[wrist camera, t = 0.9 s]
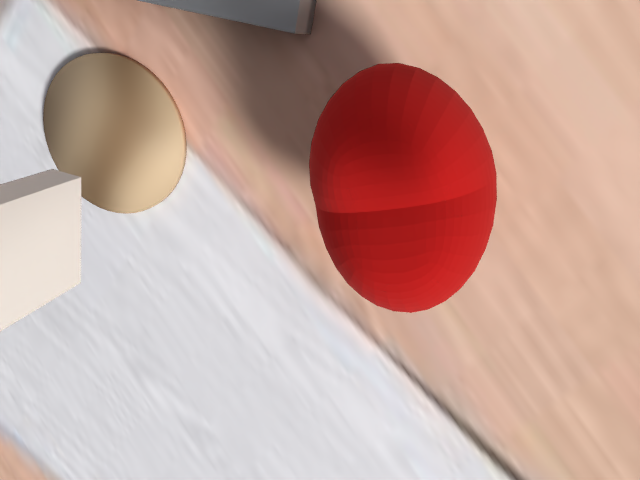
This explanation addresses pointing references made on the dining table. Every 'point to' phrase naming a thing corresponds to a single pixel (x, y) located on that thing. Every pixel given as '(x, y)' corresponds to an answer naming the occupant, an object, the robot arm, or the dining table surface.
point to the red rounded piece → (402, 186)
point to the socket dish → (253, 12)
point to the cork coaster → (115, 131)
